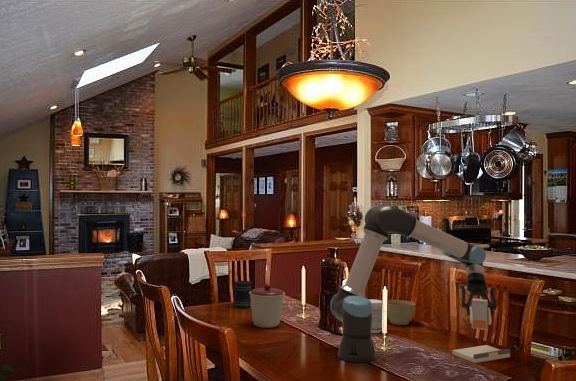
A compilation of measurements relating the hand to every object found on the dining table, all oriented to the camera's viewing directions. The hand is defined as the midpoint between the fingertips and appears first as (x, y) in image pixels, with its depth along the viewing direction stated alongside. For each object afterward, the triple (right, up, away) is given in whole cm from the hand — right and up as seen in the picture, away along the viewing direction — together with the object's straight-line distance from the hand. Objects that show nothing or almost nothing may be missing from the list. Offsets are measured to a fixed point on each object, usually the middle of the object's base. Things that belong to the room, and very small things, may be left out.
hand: (480, 322), depth 194 cm
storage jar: (-107, -15, +82) cm, 136 cm away
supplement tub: (-38, -15, +37) cm, 55 cm away
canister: (-91, -14, +42) cm, 101 cm away
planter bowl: (-21, -16, +53) cm, 60 cm away
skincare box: (+1, -4, +3) cm, 5 cm away
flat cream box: (+1, -14, +2) cm, 15 cm away
